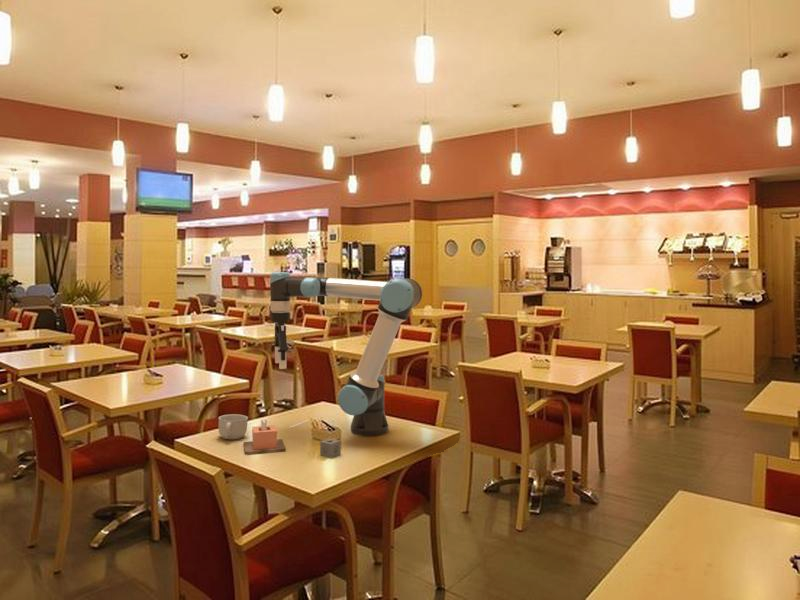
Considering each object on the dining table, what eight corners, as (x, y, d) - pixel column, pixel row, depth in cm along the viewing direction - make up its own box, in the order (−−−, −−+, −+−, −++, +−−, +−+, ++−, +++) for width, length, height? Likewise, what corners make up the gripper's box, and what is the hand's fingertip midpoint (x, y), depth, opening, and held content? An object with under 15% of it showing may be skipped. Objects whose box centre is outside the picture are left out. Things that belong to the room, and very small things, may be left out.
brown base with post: (282, 441, 218) (282, 415, 218) (285, 451, 207) (285, 423, 206) (243, 444, 214) (243, 417, 213) (244, 454, 203) (244, 426, 202)
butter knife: (286, 426, 237) (292, 427, 236) (321, 412, 262) (326, 412, 261) (286, 428, 237) (292, 428, 236) (321, 413, 262) (326, 414, 261)
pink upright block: (274, 441, 215) (274, 425, 215) (276, 447, 208) (276, 431, 207) (252, 442, 213) (252, 426, 213) (253, 449, 205) (253, 432, 205)
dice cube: (320, 455, 203) (320, 441, 202) (329, 451, 207) (329, 438, 207) (331, 458, 200) (331, 444, 200) (340, 454, 204) (340, 440, 204)
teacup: (226, 432, 229) (225, 412, 229) (252, 434, 228) (252, 413, 227) (209, 443, 215) (209, 422, 215) (237, 445, 214) (237, 423, 213)
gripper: (267, 309, 238) (267, 361, 239) (273, 314, 214) (274, 371, 215) (285, 309, 240) (286, 360, 241) (294, 314, 217) (294, 370, 218)
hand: (280, 365), depth 228 cm, fingers open, 13 cm apart
